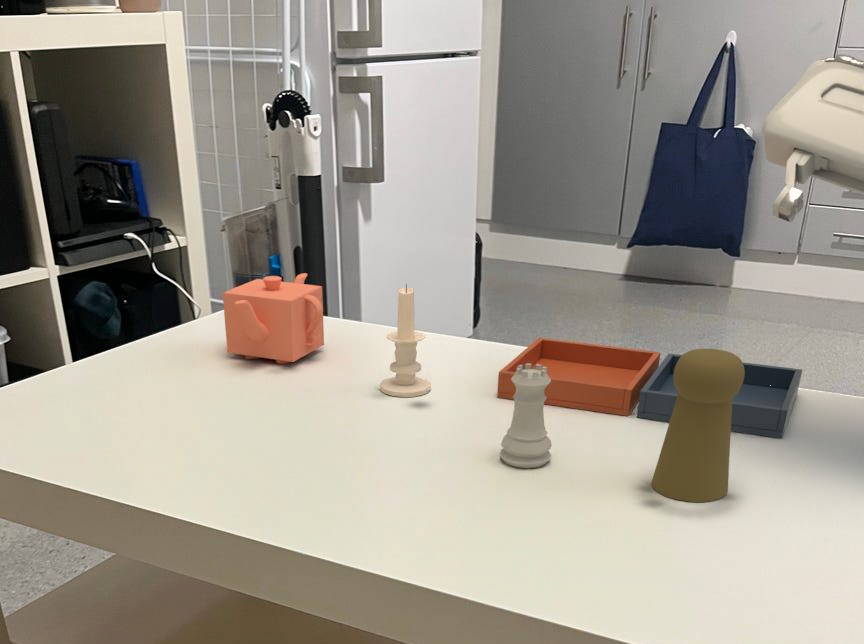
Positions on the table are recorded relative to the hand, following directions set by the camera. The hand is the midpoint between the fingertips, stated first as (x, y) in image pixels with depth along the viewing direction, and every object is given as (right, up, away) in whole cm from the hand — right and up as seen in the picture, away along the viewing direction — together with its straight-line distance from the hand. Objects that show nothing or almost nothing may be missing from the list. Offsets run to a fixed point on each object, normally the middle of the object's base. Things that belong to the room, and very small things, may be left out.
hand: (837, 235), depth 75 cm
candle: (-31, -4, +28) cm, 43 cm away
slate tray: (-1, -7, +24) cm, 25 cm away
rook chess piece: (-21, -15, +12) cm, 29 cm away
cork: (-9, -18, +7) cm, 21 cm away
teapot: (-46, +2, +39) cm, 60 cm away
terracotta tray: (-14, -4, +29) cm, 32 cm away
